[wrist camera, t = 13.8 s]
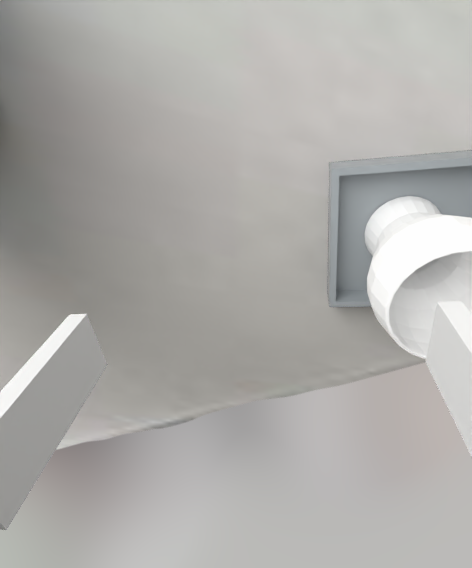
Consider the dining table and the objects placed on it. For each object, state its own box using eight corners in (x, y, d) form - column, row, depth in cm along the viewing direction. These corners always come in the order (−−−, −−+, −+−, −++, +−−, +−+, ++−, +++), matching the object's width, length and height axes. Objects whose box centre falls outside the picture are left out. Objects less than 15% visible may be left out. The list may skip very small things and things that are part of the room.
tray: (327, 293, 43) (329, 306, 40) (329, 162, 36) (331, 168, 33) (466, 290, 40) (478, 305, 37) (499, 147, 33) (517, 153, 30)
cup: (354, 183, 36) (387, 239, 23) (469, 179, 34) (575, 237, 21) (346, 275, 41) (369, 364, 28) (446, 276, 39) (519, 371, 26)
